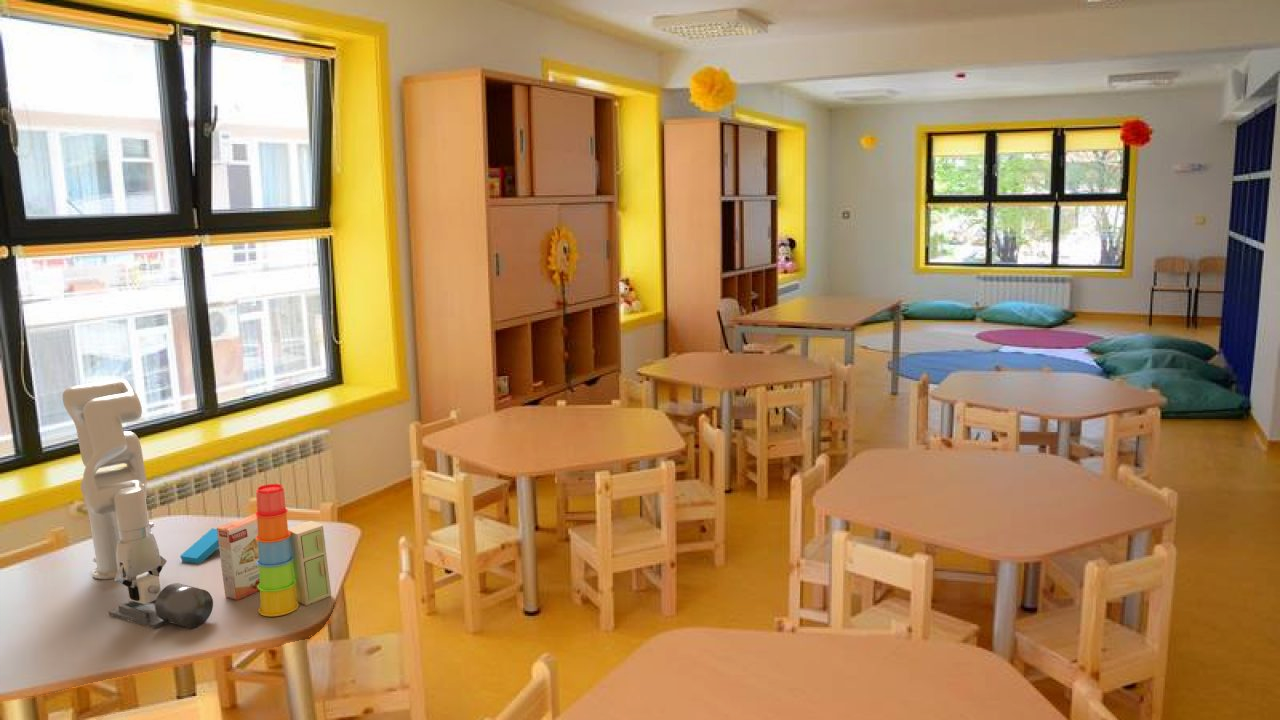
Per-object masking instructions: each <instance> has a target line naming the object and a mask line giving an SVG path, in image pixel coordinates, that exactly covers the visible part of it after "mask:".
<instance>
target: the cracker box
mask: <svg viewBox="0 0 1280 720" xmlns="http://www.w3.org/2000/svg"><path fill="white" fill-rule="evenodd" d="M255 514H256V513H253V514H251V515H248V516H245V517H242V518H240V519H237V520H234V521H232V522H229V523H227V524H223V525H220V526H218V527H216V529H217V534H218V542H219V547H218V549H219V557H220V558H219V559H220V565H221V566H220V567H221V574H222V579H223V589H224V595H225V598H226V597H227V598H230V599H231V600H232V599H233V600H235V601H239V600H241V599H242V598H245V597H248V596H250V595H252V594H254V593H257V592H258V591H259V592H260V590H259V589H258V584H259V583H260V577H259V565H258V564H257V561H258V560H259V550H258V541H257V540H256V537H257V536H258V525H257V516H256V515H255Z"/></svg>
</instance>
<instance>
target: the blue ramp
mask: <svg viewBox="0 0 1280 720" xmlns="http://www.w3.org/2000/svg"><path fill="white" fill-rule="evenodd" d="M218 549H219V542H218V534H217V528H211V529H210V530H208V531H207V532H206V533H205V534H203V536H201V537H200V538H199V539H198V540H197V541H196V542H194V543H193V544H192V545H191V546H190V547H189V548H187V549H186V550H185V551H184V552H183V553H182V554H181V555H180V556H179V557H180V559H181V561H182V562H184V563H193V564H198V563H199V564H202V563H203V562H204V561H205V560H206V559H208V558H209V556H211V555H212V554H213V553H214V552H216V550H218ZM202 561H203V562H202Z"/></svg>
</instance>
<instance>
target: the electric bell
mask: <svg viewBox="0 0 1280 720" xmlns="http://www.w3.org/2000/svg"><path fill="white" fill-rule="evenodd" d="M213 608H214V600H213V597H212V595H211V593H210V592H209V591H208V590H207V589H203V588H199V587H194V586H190V585H187V584H183V583H179V582H174V583H170V584H168V585H166V586H165V587H164V588H163V589H161V592H160V593H159V595H158V597H157V599H156V600H154V601H152V602H149V603H147V604H142V603H138V602H134V601H131V600H129V601H126V602H125V603H122V604H120V605H118V607H116V608H113V609H112V610H111V609H110V610H109V611H108V615H109V616H112V617H114V618H118V619H121V620H124V619H125V621H127V620H129V621H128V622H131V621H132V622H131V623H134V622H135V624H137V623H138V625H142V626H145V627H148V628H150V629H154V630H155V629H157V628H159V627H162V626H163V625H166V624H168V623H172V624H175V625H178V626H182V627H186V628H189V629H194V628H198V627H200V626H202V625H203V624H204V623H205V622H207V620H208V619H209V618H210V616H211V614H212V612H213Z"/></svg>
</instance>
